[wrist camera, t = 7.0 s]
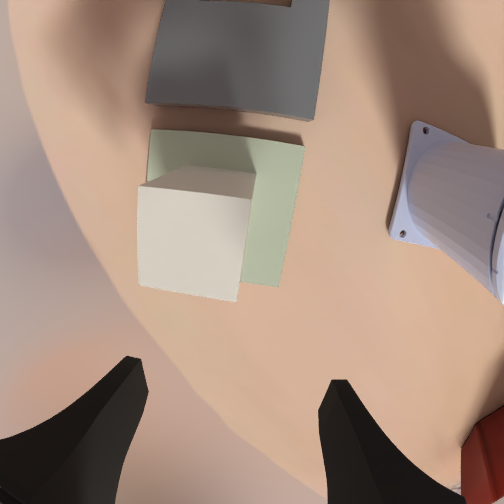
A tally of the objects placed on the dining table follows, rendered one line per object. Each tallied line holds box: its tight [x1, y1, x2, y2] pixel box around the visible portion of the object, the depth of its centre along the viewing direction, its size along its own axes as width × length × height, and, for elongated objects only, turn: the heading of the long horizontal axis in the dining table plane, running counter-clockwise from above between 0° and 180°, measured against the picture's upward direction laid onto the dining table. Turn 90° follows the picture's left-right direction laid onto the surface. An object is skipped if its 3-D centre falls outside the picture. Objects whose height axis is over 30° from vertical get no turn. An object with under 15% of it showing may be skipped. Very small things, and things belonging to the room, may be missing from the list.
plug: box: [137, 165, 257, 302], centre depth 13 cm, size 4×4×7 cm
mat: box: [147, 129, 305, 287], centre depth 17 cm, size 9×9×1 cm
